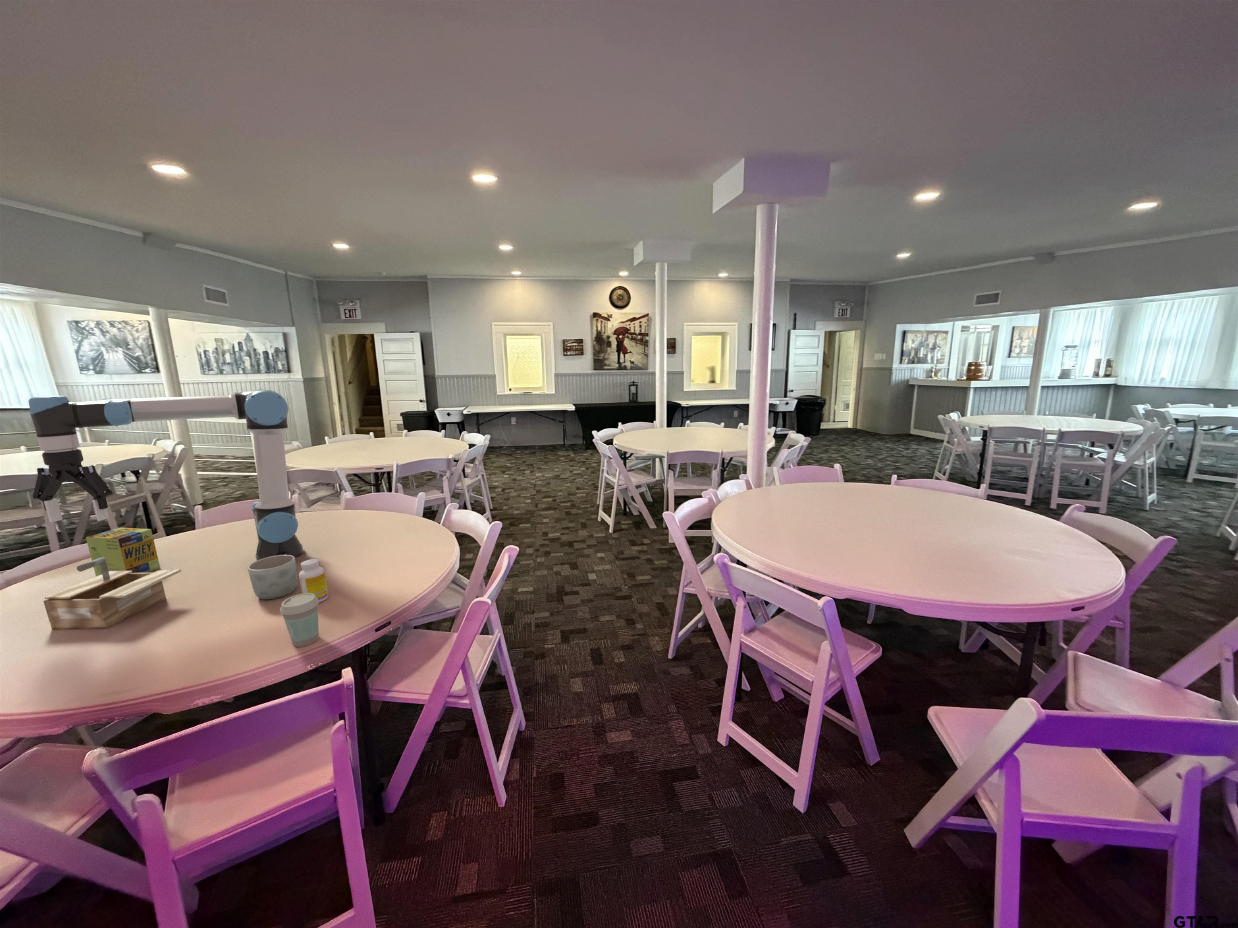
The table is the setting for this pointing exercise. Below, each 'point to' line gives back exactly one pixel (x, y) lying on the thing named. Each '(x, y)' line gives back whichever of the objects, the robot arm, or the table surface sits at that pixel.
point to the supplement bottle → (313, 579)
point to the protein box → (124, 550)
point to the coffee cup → (301, 618)
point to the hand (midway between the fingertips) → (79, 520)
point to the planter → (273, 576)
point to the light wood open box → (108, 602)
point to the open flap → (90, 583)
